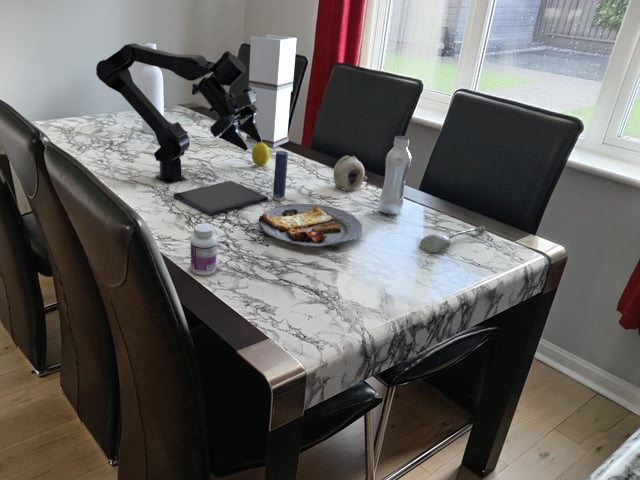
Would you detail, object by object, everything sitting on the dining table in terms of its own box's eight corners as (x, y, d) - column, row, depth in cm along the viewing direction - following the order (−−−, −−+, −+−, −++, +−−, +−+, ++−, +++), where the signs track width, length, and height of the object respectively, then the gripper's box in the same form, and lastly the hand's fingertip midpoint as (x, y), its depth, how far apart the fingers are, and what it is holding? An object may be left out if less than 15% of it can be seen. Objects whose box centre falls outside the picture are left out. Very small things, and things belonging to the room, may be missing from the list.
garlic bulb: (332, 194, 171) (323, 162, 167) (348, 184, 175) (341, 152, 172) (357, 194, 164) (349, 160, 160) (374, 183, 168) (367, 150, 165)
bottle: (162, 134, 209) (160, 46, 195) (140, 133, 209) (137, 44, 195) (165, 129, 216) (163, 43, 202) (144, 128, 216) (141, 42, 202)
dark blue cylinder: (270, 198, 158) (273, 152, 152) (278, 196, 160) (282, 150, 154) (278, 202, 156) (282, 155, 150) (286, 199, 158) (290, 153, 152)
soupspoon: (412, 247, 137) (434, 259, 132) (415, 235, 135) (437, 247, 130) (471, 227, 148) (493, 237, 143) (474, 215, 146) (497, 225, 141)
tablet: (173, 197, 155) (173, 193, 155) (230, 183, 167) (230, 180, 167) (210, 216, 145) (210, 212, 145) (268, 200, 157) (268, 196, 157)
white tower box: (288, 141, 211) (296, 37, 193) (273, 147, 203) (280, 40, 186) (261, 135, 216) (267, 34, 199) (246, 141, 208) (250, 36, 191)
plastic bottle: (402, 210, 156) (416, 136, 146) (399, 218, 150) (414, 142, 141) (378, 206, 158) (391, 133, 148) (375, 214, 152) (387, 139, 142)
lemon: (267, 170, 180) (268, 145, 176) (249, 168, 180) (250, 143, 177) (270, 165, 184) (271, 140, 180) (253, 163, 185) (254, 138, 181)
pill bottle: (190, 263, 122) (190, 221, 117) (216, 264, 122) (216, 222, 118) (190, 276, 117) (190, 232, 112) (216, 276, 118) (217, 232, 113)
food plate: (288, 259, 126) (290, 245, 124) (241, 220, 144) (242, 207, 142) (379, 242, 137) (381, 228, 135) (325, 207, 154) (326, 195, 153)
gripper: (222, 83, 140) (261, 135, 142) (252, 73, 155) (287, 120, 157) (193, 111, 146) (231, 161, 148) (225, 99, 162) (259, 144, 164)
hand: (254, 145), depth 154 cm, fingers open, 9 cm apart
